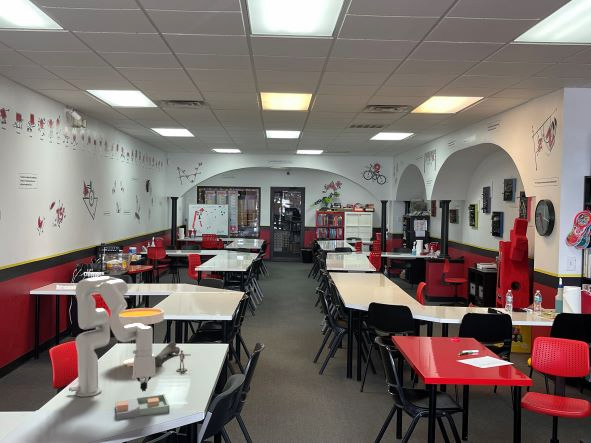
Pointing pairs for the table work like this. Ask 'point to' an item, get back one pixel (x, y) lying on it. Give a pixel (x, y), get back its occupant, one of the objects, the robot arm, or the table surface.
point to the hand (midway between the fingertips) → (143, 390)
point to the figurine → (182, 361)
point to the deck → (129, 409)
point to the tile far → (153, 402)
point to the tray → (147, 410)
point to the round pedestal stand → (140, 320)
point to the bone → (169, 350)
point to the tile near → (122, 406)
